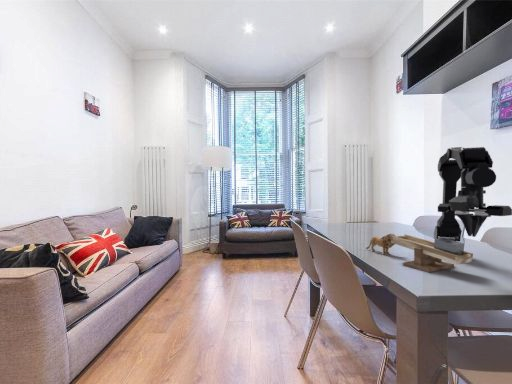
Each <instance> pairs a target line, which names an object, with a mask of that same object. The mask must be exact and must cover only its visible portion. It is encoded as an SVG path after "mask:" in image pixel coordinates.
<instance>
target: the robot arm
mask: <svg viewBox="0 0 512 384" xmlns="http://www.w3.org/2000/svg"><path fill="white" fill-rule="evenodd" d="M493 164H494V161H493V159H492V157H491V155H490V153H489V150H486V148H485V147H484V146H481V147H480V146H479V147H478V146H477V147H462V146H459V147H458V146H457V147H449V148H447V150H446V152H445V153H444V154H443V155H441V156H440V157H439V160H438V163H437V172H438V175H439V177H440V178H441V180H442V181H443V184H442V185H443V186H442V203H439V204H438V206H437V212H438V213H441V216H440V217H439V218H438V219H437V221H436V226H435V228H434V232H433V239H434V240H435V239H439V238H446V239H449V240H453V241H457V242H461V237H462V236H461V235H462V229H461V226H460V224H459V222H458V220H457V219H456V217H457V218H459V219H460V220H461V223H462V225H463V226H464V229H465V231H466V234H467V236H468V237H475V238H476V236H477V235H478V233H479V231H480V229H481V227H482V225H483V224H484V223H485V221H486V220H487V218H491V217H492V216H493V217H494V216H495V217H506V216H507V217H508V216H509V217H510V216H512V207H511V206H510V205H500V204H498V205H497V204H495V205H493V204H492V205H486V204H487V203H484V194H486V189H485V190H484V188H487V187H488V188H489V187H491V186H492V185H493V184H494V183H496V180H497V175H496V172H495V171H494V170H493V169H492V168H493ZM459 180H460V190H458V192H457V185H458V181H459Z"/></svg>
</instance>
